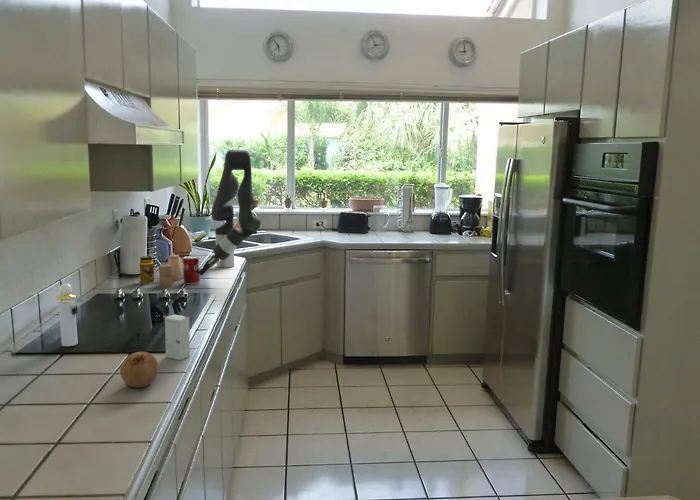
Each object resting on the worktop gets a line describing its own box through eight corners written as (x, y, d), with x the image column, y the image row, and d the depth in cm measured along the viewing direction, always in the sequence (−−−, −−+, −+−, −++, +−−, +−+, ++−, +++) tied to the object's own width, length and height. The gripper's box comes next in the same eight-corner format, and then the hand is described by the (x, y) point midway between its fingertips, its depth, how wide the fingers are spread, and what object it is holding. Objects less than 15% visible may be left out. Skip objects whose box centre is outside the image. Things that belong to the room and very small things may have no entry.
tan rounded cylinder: (171, 277, 290) (170, 254, 288) (183, 277, 290) (182, 254, 288) (167, 280, 285) (166, 256, 283) (179, 280, 284) (177, 256, 282)
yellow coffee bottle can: (151, 284, 276) (150, 258, 274) (133, 283, 277) (132, 258, 275) (158, 280, 283) (156, 255, 281) (140, 280, 284) (139, 255, 282)
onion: (144, 401, 155) (142, 374, 149) (113, 387, 157) (110, 360, 151) (166, 376, 162) (165, 350, 157) (136, 364, 164) (134, 337, 159)
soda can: (183, 284, 274) (182, 258, 272) (183, 281, 281) (182, 256, 279) (199, 284, 276) (198, 258, 274) (200, 280, 283) (198, 255, 281)
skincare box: (165, 357, 179) (163, 317, 177) (176, 352, 183) (174, 313, 181) (180, 360, 176) (178, 320, 174) (191, 356, 180) (189, 316, 178)
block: (161, 284, 275) (160, 265, 274) (172, 284, 276) (171, 264, 275) (160, 286, 270) (159, 267, 269) (171, 286, 271) (170, 266, 270)
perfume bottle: (57, 349, 185) (52, 286, 182) (62, 343, 191) (57, 281, 187) (77, 348, 186) (72, 285, 183) (81, 342, 192) (77, 281, 189)
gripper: (223, 239, 281) (198, 265, 284) (215, 244, 268) (189, 271, 271) (235, 251, 281) (210, 276, 284) (227, 255, 268) (201, 282, 271)
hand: (200, 273), depth 277 cm, fingers closed
